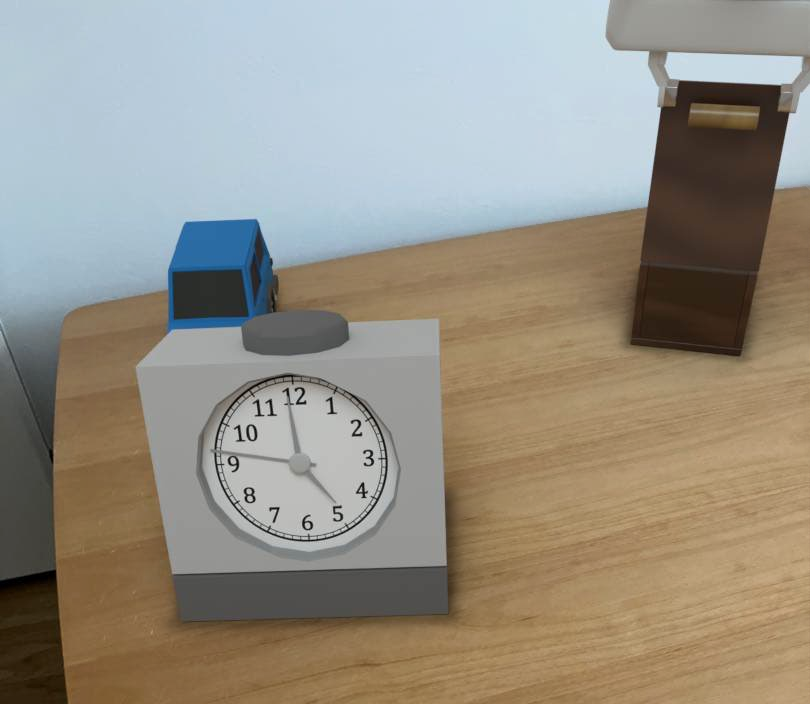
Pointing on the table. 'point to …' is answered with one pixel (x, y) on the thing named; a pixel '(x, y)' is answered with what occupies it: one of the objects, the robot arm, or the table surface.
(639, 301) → the chest
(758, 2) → the robot arm
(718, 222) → the lid
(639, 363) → the table surface
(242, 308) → the toy car
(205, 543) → the alarm clock
